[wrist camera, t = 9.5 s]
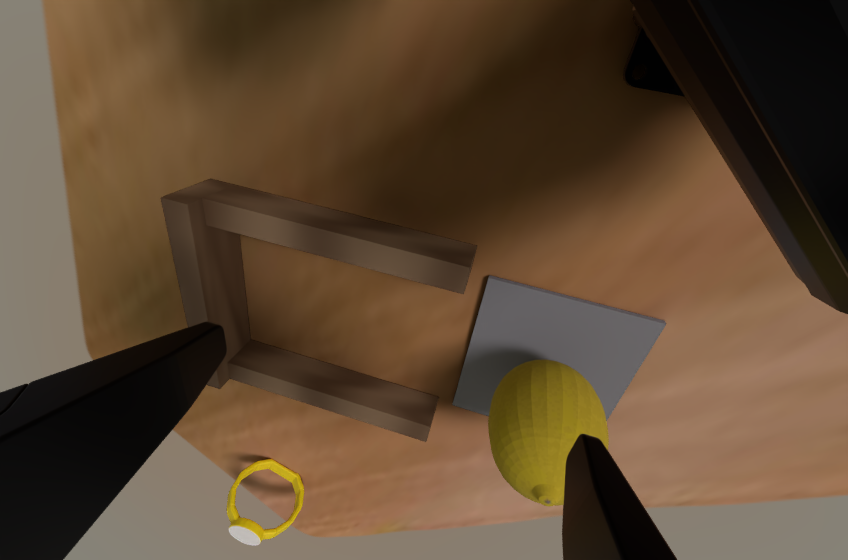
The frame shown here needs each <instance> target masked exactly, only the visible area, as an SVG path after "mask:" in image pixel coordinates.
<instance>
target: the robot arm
mask: <svg viewBox="0 0 848 560" xmlns="http://www.w3.org/2000/svg"><path fill="white" fill-rule="evenodd" d="M630 1H631V2H632V4H633V9H632V11H633V13H634V14H633V19H634V21H635V24H636V25H638V26H640V28H639V31H638V34H637V36H636V39H635V42H634V44H633V47H632V49H631V52H630V55H629V57H628V60H627V63H626V65H625V68H624V72H623V78H624V81H625V82H626V83H627V84H628V85H630V86H633V87H637V88H643V89H648V90H653V91H659V92H664V93H669V94H675V95H680V96H685V97H686V99H687V100H688V102H689V104H690V105H691V107H692V108H693V110H694V112H695V113H696V115H697V117H698V118H699V120H700V121H701V123H702V125H703V126H704V128H705V129H706V131H707V133H708V134H709V136H710V138H711V139H712V141H713V142H714V144H715V146H716V147H717V149H718V150H719V152H720V154H721V155H722V157H723V159H724V160H725V162H726V163H727V165H728V167H729V168H730V170H731V172H732V173H733V175H734V176H735V178H736V180H737V181H738V183H739V184H740V186H741V188H742V189H743V191H744V193H745V194H746V196H747V197H748V199H749V201H750V202H751V204H752V205H753V207H754V209H755V210H756V212H757V214H758V215H759V217H760V218H761V220H762V222H763V223H764V225H765V226H766V228H767V230H768V231H769V233H770V235H771V236H772V238H773V239H774V241H775V243H776V244H777V246H778V247H779V249H780V251H781V252H782V254H783V256H784V257H785V259H786V260H787V262H788V264H789V265H790V267H791V269H792V270H793V272H794V273H795V275H796V276H797V277H798V278H799V279H800V280H801V281H802V282H803V283H804V284H805V285H806V287H807V288H808V290H809V291H810V293H811V295H812V296H814V297H816V298H817V299H819V300H821V301H822V302H824V303H826V304H828V305H829V306H831V307H833V308H834V309H836V310H838V311H840V312H843V313H846V314H848V0H630ZM640 64H641V65H643V66H644V68H645V73H644V75H643V76H642V77H641V78H639V79H634V78H633V76H632V72H633V70H634V68H635V67H636V66H638V65H640ZM226 353H227V345H226V338H225V332H224V328H223V327H222V326H221V325H219V324H216V323H212V322H202V323H199V324H197V325H194V326H191V327H188V328H185V329H182V330H179V331H176V332H174V333H171V334H168V335H165V336H162V337H159V338H156V339H153V340H151V341H148V342H145V343H142V344H139V345H136V346H133V347H130V348H128V349H125V350H122V351H119V352H116V353H113V354H110V355H107V356H104V357H102V358H99V359H96V360H93V361H90V362H87V363H84V364H82V365H79V366H76V367H73V368H70V369H67V370H65V371H61V372H58V373H56V374H53V375H50V376H47V377H44V378H41V379H38V380H35V381H33V382H31V383H29V384H24V385H21V386H18V387H15V388H12V389H9V390H6V391H4V392H1V393H0V560H63V559H64V558H65V557H66V556H67V555H68V553H69V552H70V551H71V550H72V548H73V547H74V546H75V545H76V544H77V543H78V541H79V540H80V539H81V538H82V537H83V535H84V534H85V533H86V532H87V531H88V529H89V528H90V527H91V526H92V525H93V523H94V522H95V521H96V520H97V519H98V517H99V516H100V515H101V514H102V513H103V511H104V510H105V509H106V508H107V507H108V506H109V504H110V503H111V502H112V501H113V500H114V498H115V497H116V496H117V495H118V494H119V492H120V491H121V490H122V489H123V488H124V486H125V485H126V484H127V483H128V482H129V481H130V479H131V478H132V477H133V476H134V475H135V473H136V472H137V471H138V470H139V469H140V468H141V466H142V465H143V464H144V463H145V462H146V460H147V459H148V458H149V457H150V456H151V454H152V453H153V452H154V451H155V449H156V448H157V447H158V446H159V445H160V444H161V442H162V441H163V440H164V439H165V437H167V435H168V434H169V433H170V432H171V431H172V429H173V428H174V427H175V426H176V425H177V423H178V422H179V421H180V420H181V419H182V417H183V416H184V415H185V414H186V412H187V411H188V410H189V409H190V407H191V406H192V405H193V403H194V402H195V401H196V399H197V398H198V396H199V395H200V393H201V392H202V390H203V389H204V387H205V386H206V384H207V383H208V382H209V380H210V379H211V377H212V376H213V374H214V373H215V371H216V370H217V368H218V367H219V366H220V364H221V363H222V361H223V360H224V358H225V356H226ZM562 527H563V528H562V540H563V560H677V558H676V557H675V555H674V554H673V552H672V551H671V549H670V547H669V546H668V544H667V543H666V541H665V540H664V538H663V537H662V535H661V533H660V532H659V530H658V529H657V527H656V525H655V524H654V522H653V521H652V519H651V517H650V516H649V514H648V513H647V511H646V510H645V508H644V506H643V505H642V503H641V502H640V500H639V499H638V497H637V496H636V494H635V492H634V491H633V489H632V488H631V486H630V485H629V483H628V481H627V480H626V478H625V477H624V475H623V474H622V472H621V470H620V469H619V467H618V466H617V464H616V463H615V461H614V459H613V458H612V456H611V455H610V453H609V452H608V450H607V448H606V447H605V445H604V444H603V442H602V441H601V440H600V439H599V438H597V437H593V436H590V435H587V434H580V435H579V436H578V438H577V440H576V441H575V443H574V445H573V447H572V448H571V450H570V452H569V454H568V456H567V460H566V468H565V486H564V505H563V525H562Z"/></svg>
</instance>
